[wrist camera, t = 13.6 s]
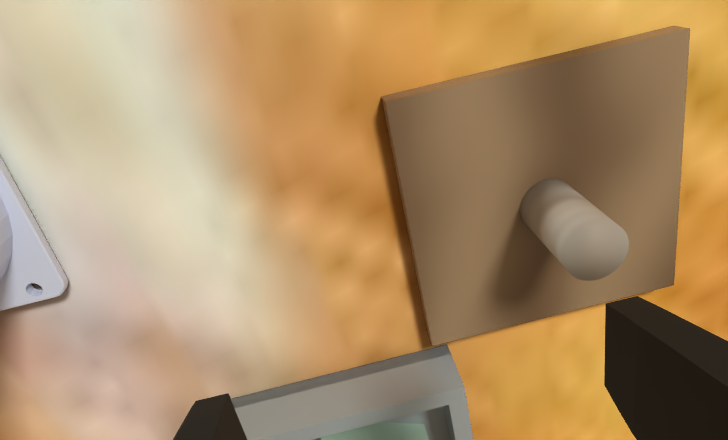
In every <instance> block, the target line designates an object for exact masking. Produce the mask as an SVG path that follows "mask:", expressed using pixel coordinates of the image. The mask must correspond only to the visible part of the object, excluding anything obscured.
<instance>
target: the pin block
mask: <svg viewBox="0 0 728 440" xmlns="http://www.w3.org/2000/svg"><path fill="white" fill-rule="evenodd" d="M689 39H690V29H689V28H683V27H678V26H671V27H667V28H663V29H659V30H655V31H651V32H647V33H643V34H638V35H634V36H630V37H626V38H622V39H618V40H614V41H610V42H605V43H601V44H597V45H593V46H589V47H585V48H581V49H577V50H572V51H568V52H564V53H560V54H556V55H552V56H548V57H543V58H539V59H535V60H531V61H527V62H523V63H519V64H515V65H510V66H506V67H502V68H498V69H494V70H490V71H486V72H482V73H477V74H473V75H469V76H465V77H461V78H457V79H453V80H448V81H444V82H440V83H436V84H432V85H428V86H424V87H420V88H415V89H411V90H407V91H403V92H399V93H395V94H391V95H387V96H382V97H381V98H382V103H383V108H384V113H385V118H386V123H387V128H388V133H389V138H390V144H391V149H392V154H393V159H394V164H395V169H396V174H397V179H398V184H399V189H400V195H401V200H402V205H403V210H404V215H405V220H406V225H407V230H408V235H409V240H410V245H411V251H412V256H413V261H414V266H415V271H416V276H417V281H418V286H419V291H420V296H421V302H422V307H423V312H424V317H425V322H426V327H427V332H428V336H429V338H430V341H431V344H432V346H435V345H439V344H443V343H447V342H451V341H455V340H459V339H463V338H467V337H471V336H475V335H479V334H482V333H486V332H490V331H494V330H498V329H502V328H506V327H510V326H514V325H518V324H522V323H526V322H530V321H534V320H538V319H542V318H546V317H550V316H554V315H558V314H562V313H566V312H570V311H574V310H577V309H581V308H585V307H589V306H593V305H597V304H601V303H605V302H609V301H613V300H617V299H621V298H625V297H629V296H633V295H637V294H641V293H645V292H649V291H653V290H657V289H661V288H665V287H669V286H672V285H674V276H675V260H676V244H677V228H678V212H679V197H680V181H681V165H682V149H683V133H684V118H685V102H686V86H687V70H688V54H689Z"/></svg>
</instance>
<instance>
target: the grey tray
mask: <svg viewBox="0 0 728 440" xmlns="http://www.w3.org/2000/svg"><path fill="white" fill-rule="evenodd" d="M231 401H232V403H233V406H234V408H235V411H236V413H237V416H238V418H239V420H240V423H241V425H242V428H243V430H244V433H245V435H246V438H247V440H315V439H317V438H321V437H324V436H328V435H332V434H336V433H340V432H344V431H348V430H352V429H356V428H360V427H364V426H368V425H371V424H375V423H379V422H389V423H411V424H424V425H425V429H426V432H427V436H428V439H429V440H473V435H472V429H471V423H470V417H469V411H468V405H467V399H466V393H465V387H464V385H463V382H462V380H461V377H460V375H459V372H458V370H457V368H456V365H455V363H454V360H453V358H452V355H451V353H450V351H449V348H448V346H447V345H443V346H439V347H435V348H431V349H427V350H423V351H419V352H415V353H411V354H407V355H403V356H399V357H395V358H391V359H387V360H383V361H380V362H376V363H372V364H368V365H364V366H360V367H356V368H352V369H348V370H344V371H340V372H336V373H332V374H328V375H324V376H320V377H316V378H312V379H308V380H304V381H300V382H296V383H292V384H289V385H285V386H281V387H277V388H273V389H269V390H265V391H261V392H257V393H253V394H249V395H245V396H241V397H237V398H233V399H231Z"/></svg>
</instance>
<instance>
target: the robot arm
mask: <svg viewBox="0 0 728 440" xmlns="http://www.w3.org/2000/svg"><path fill="white" fill-rule="evenodd" d="M31 283H35V284H38V285H40V286H41V287H42V290H37V289H35V288H34V287H33V286H32V285H31ZM67 285H68V280H67V277H66V275H65V273H64V271H63V270H62V268H61V266H60V264H59V262H58V260H57V259H56V257H55V255H54V253H53V251H52V250H51V248H50V246H49V244H48V242H47V240H46V239H45V237H44V235H43V233H42V231H41V229H40V228H39V226H38V224H37V222H36V220H35V219H34V217H33V215H32V213H31V211H30V209H29V208H28V206H27V204H26V202H25V200H24V198H23V197H22V195H21V193H20V191H19V189H18V188H17V186H16V184H15V182H14V180H13V178H12V177H11V175H10V173H9V171H8V169H7V168H6V166H5V164H4V162H3V160H2V158H1V157H0V311H2V310H6V309H10V308H14V307H18V306H23V305H27V304H31V303H35V302H39V301H43V300H47V299H51V298H55V297H58V296H60V295H61V294H62V293H63V292H64V291H65V289H66V288H67ZM604 385H605V387H606V388H607V390H608V392H609V394H610V396H611V397H612V399H613V401H614V403H615V405H616V406H617V408H618V410H619V412H620V413H621V415H622V417H623V418H624V420H625V422H626V423H627V425H628V427H629V429H630V430H631V432H632V434H633V435H634V436H635V438H636V439H637V440H728V341H726V340H724V339H722V338H720V337H718V336H716V335H714V334H712V333H710V332H708V331H706V330H704V329H702V328H700V327H698V326H696V325H694V324H692V323H690V322H688V321H686V320H684V319H682V318H681V317H679V316H677V315H675V314H673V313H671V312H669V311H667V310H665V309H663V308H661V307H659V306H657V305H655V304H652V303H650V302H648V301H646V300H644V299H642V298H640V297H637V296H636V297H632V298H628V299H624V300H620V301H615V302H611V303H607V304H606V323H605V384H604ZM173 440H247V438H246V435H245V433H244V430H243V428H242V425H241V423H240V420H239V418H238V416H237V413H236V411H235V408H234V406H233V403H232V401H231V399H230V396H229V394H224V395H219V396H215V397H211V398H207V399H202V400H198V401H196V402H195V403H194V405H193V406H192V408H191V409H190V411H189V413H188V414H187V416H186V418H185V420H184V421H183V423H182V425H181V427H180V428H179V430H178V432H177V434H176V435H175V437H174V439H173Z"/></svg>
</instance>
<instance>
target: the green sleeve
mask: <svg viewBox="0 0 728 440" xmlns="http://www.w3.org/2000/svg"><path fill="white" fill-rule="evenodd" d="M315 440H429V439H428V436H427V432H426V429H425V425H424V424H411V423H389V422H379V423H375V424H371V425H368V426H364V427H360V428H356V429H352V430H348V431H344V432H340V433H336V434H332V435H328V436H324V437H321V438H317V439H315Z"/></svg>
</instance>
